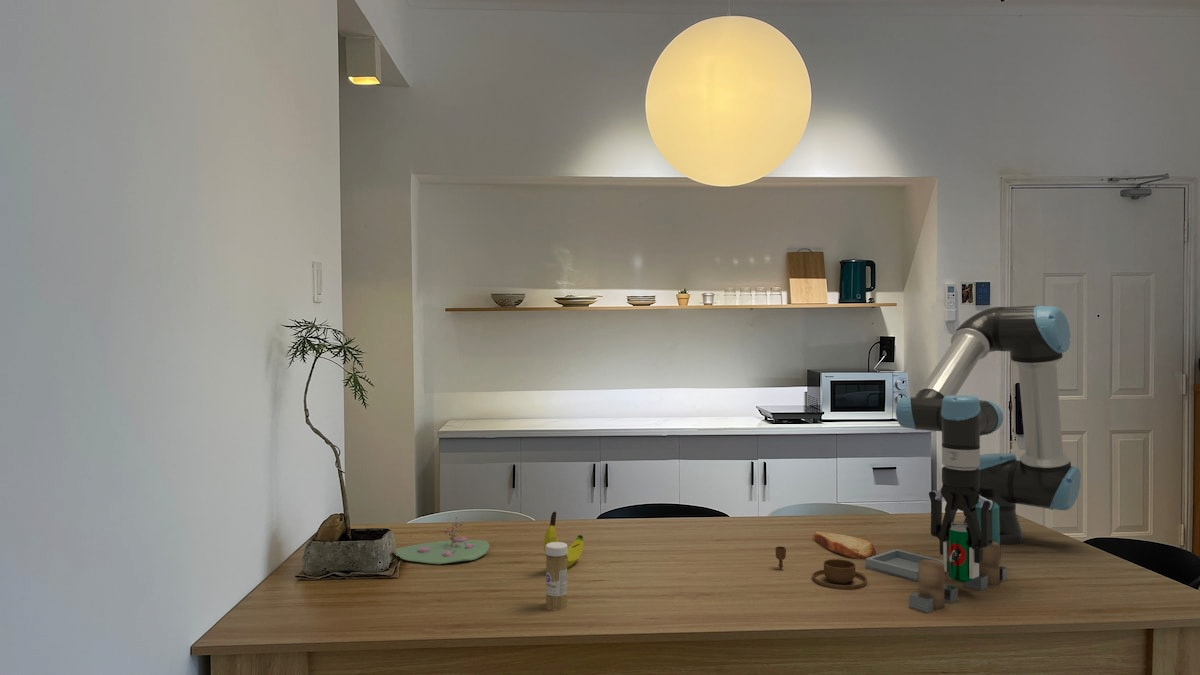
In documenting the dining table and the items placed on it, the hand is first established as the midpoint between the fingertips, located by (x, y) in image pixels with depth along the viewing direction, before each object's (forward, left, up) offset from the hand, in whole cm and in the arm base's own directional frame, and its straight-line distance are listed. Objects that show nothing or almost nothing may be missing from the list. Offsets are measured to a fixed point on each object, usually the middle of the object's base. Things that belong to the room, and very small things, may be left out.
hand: (961, 573), depth 168 cm
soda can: (0, 0, -1) cm, 1 cm away
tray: (-6, -16, -4) cm, 18 cm away
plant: (+74, -101, -5) cm, 125 cm away
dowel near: (+12, 0, -4) cm, 13 cm away
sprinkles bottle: (+74, -47, -5) cm, 88 cm away
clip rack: (0, 0, -4) cm, 4 cm away
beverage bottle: (-21, -5, -5) cm, 22 cm away
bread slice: (-10, -37, -5) cm, 39 cm away
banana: (+57, -68, -5) cm, 89 cm away
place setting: (+13, -25, -5) cm, 29 cm away
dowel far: (-12, 0, -4) cm, 13 cm away
